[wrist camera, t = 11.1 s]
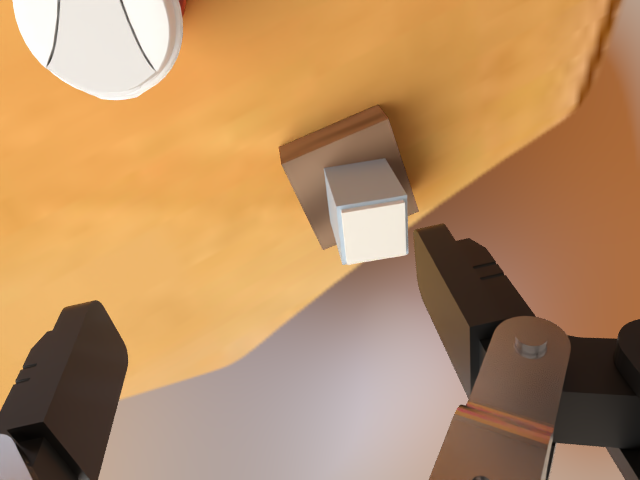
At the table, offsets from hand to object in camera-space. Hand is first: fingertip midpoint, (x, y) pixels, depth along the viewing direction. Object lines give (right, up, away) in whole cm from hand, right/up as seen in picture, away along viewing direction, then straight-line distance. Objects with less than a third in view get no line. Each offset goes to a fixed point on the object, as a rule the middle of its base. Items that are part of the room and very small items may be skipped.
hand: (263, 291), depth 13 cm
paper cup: (-11, +19, +22) cm, 31 cm away
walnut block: (+4, +8, +32) cm, 33 cm away
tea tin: (+4, +5, +28) cm, 29 cm away
